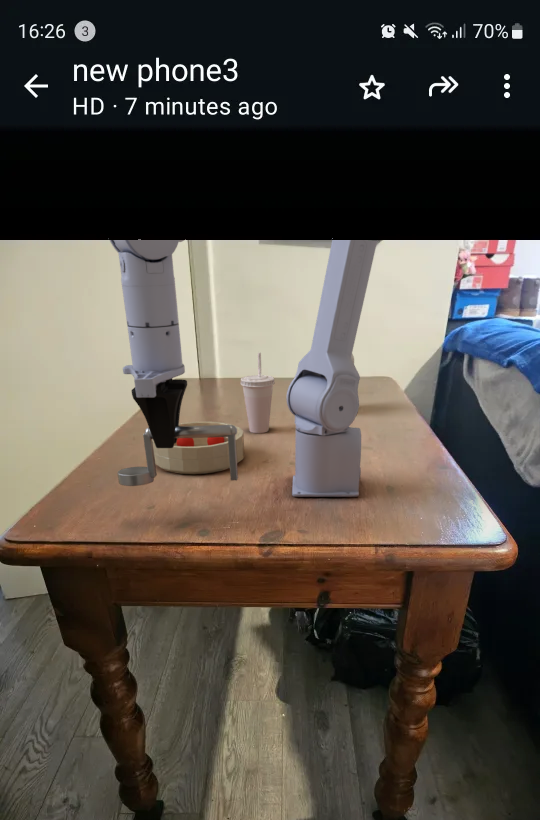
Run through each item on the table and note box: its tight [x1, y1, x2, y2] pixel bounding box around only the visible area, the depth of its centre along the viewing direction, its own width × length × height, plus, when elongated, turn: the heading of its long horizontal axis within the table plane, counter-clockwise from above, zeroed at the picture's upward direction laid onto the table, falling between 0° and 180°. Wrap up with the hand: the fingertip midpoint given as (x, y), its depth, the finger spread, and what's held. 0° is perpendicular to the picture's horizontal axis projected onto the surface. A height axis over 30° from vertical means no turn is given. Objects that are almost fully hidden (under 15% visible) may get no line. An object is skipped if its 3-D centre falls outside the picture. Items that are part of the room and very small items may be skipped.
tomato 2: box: [207, 437, 225, 445], centre depth 100 cm, size 3×3×3 cm
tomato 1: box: [177, 438, 194, 447], centre depth 100 cm, size 3×3×3 cm
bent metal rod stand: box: [116, 424, 239, 487], centre depth 72 cm, size 16×4×7 cm, turn 87°
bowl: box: [152, 421, 245, 475], centre depth 97 cm, size 15×15×4 cm
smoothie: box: [240, 352, 276, 434], centre depth 110 cm, size 6×6×14 cm
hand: (166, 444), depth 72 cm, fingers closed on bent metal rod stand
